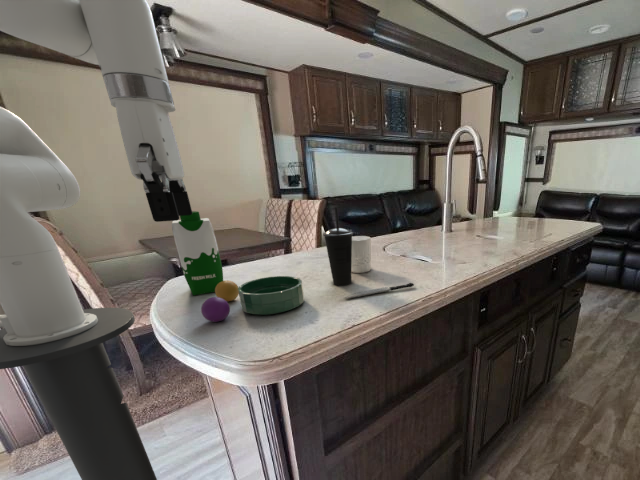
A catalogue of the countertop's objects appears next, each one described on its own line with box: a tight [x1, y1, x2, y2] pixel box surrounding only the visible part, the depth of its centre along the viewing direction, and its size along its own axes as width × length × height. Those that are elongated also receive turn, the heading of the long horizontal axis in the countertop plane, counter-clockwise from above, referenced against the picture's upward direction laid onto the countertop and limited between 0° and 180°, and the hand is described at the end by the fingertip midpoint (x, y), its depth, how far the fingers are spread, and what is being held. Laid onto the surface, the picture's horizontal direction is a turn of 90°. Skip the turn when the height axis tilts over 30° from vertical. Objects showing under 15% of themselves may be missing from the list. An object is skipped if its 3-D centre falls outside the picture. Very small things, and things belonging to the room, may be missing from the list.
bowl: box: [238, 275, 305, 316], centre depth 71 cm, size 13×13×5 cm
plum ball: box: [200, 296, 231, 323], centre depth 64 cm, size 5×5×5 cm
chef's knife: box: [343, 282, 415, 300], centre depth 79 cm, size 19×1×3 cm
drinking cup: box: [322, 207, 354, 286], centre depth 83 cm, size 8×8×20 cm
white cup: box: [351, 235, 372, 274], centre depth 97 cm, size 8×8×10 cm
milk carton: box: [171, 210, 224, 297], centre depth 80 cm, size 9×9×20 cm
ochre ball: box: [214, 279, 239, 303], centre depth 74 cm, size 5×5×5 cm
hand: (175, 217), depth 52 cm, fingers open, 9 cm apart
